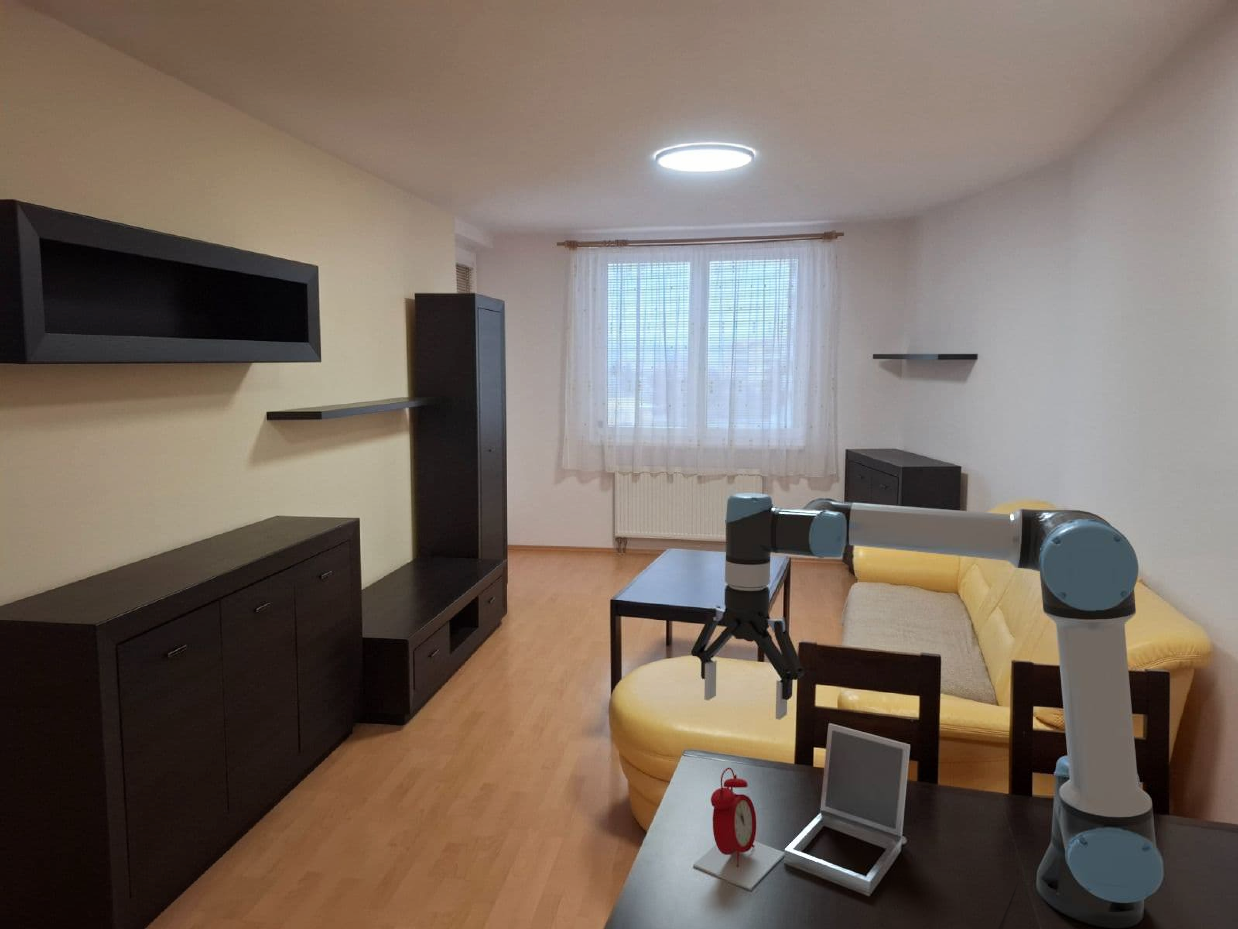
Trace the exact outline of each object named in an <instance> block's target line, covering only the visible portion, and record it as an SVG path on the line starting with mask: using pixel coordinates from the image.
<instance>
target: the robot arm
mask: <svg viewBox="0 0 1238 929" xmlns="http://www.w3.org/2000/svg"><path fill="white" fill-rule="evenodd" d="M726 505H727V506H726V513H725V514H726V517H725V520H724V523H725V563H724V564H725V566H724V582H725V583H726V586H725V587H724V602H723V603H724V607H725V608H724V609H723V608H721V606H719V605H715V606H713V607H711V608H709V609H708V610H707V618H706V621H705V622H704V623H705V624H704V625H703V627H702V629H701V632H700V634H698V637H697V639H696V641H695V643H694V644H693V647H692V650H690V653H691V654H690V655H691V656H692V657H696V658H698V659H699V660H700V678H701V679H703V680H704V701H705V700H706V701H710V700H711V699H713V698H715V697H717V659H713V658H714V657H715V655H716V654H717V653H718V652H719V651H720V650H721V649H722V648H723V646H725V645H726V643H728V641H729V640H730V639H731V638H732V637H734V639H736V640H744V641H746V642H750V643H752V642H754V643H755V644H756V645H757V646H758V647H759V648H760V649H761V650H762V652H763V653H764V655H765V657H766V658H767V660H768V661H769V662H770V664H771V665H772V668H774V670H775V672H776V673H777V675H778V676H779V678H778V679H776V683H775V684H776V686H775V687H776V688H775V689H776V690H775V691H776V692H775V697H776V698H775V719H776V720H778V721H780V720H782V719H783V718H785V717H786V716H787V715H788V700H790V699H791V698H792V696H793V684H794V683H793V682H794V681H797V680H799V679H800V678H801V677H803V676H804V675H805V670H804V668H803V665H802V664H801V661H800V658H799V656H798V653H797V651H796V648H795V646H794V643H793V641H792V639H791V637H790V634H789V631H788V630H789V629H788V621H787V619H786V618H785V617H781V618H780V619H779V618H778V619H777V618H776V619H775V618H771V616H770V614H769V612H770V611H769V610H770V597H771V595H770V591H771V589H770V588H769V585H770V583H771V580H770V579H771V553H772V554H773V553H774V554H785V555H786V554H787V555H794V556H804V557H813V558H814V557H815V558H818V559H824V558H832V559H833V558H837V559H838V558H840V557H842V556H843V554H844V553H845V548H846V546H855V547H856V546H857V547H865V548H867V547H868V548H874V549H876V548H877V549H888V550H896V551H905V552H914V553H915V552H916V553H917V552H918V553H927V554H937V555H945V556H946V555H947V556H957V557H968V558H976V559H977V558H978V559H986V560H997V561H998V560H999V561H1007V562H1009V563H1010V564H1011V565H1012V566H1013V567H1014V568H1016V569H1024V570H1031V571H1036V572H1039V580H1040V589H1041V599H1042V601H1041V602H1042V611H1043V614H1045V615H1046V616H1048V618H1050V619H1051V620H1052V621H1053V622H1054V623H1055V626H1056V627H1055V628H1056V639H1057V650H1058V660H1059V661H1058V662H1059V672H1060V684H1061V695H1062V705H1063V706H1062V707H1063V718H1064V728H1065V729H1064V730H1065V738H1066V750H1067V751H1066V752H1067V755H1064V756H1061V757H1059V758H1058V760H1057V761H1056V763H1055V764H1056V765H1055V766H1056V767H1055V770H1054V772H1053V775H1054V793H1053V808H1052V819H1051V835H1050V836H1051V837H1050V843H1049V846H1048V847H1047V850H1046V852H1045V853H1044V855H1043V858H1042V860H1041V862H1040V864H1039V866H1038V868H1037V871H1036V889H1037V892H1038V893H1039V895H1040V897H1041V898H1043V900H1044V901H1045V902H1046V903H1047V904H1049V905H1050V906H1051V907H1052V908H1054V909H1055V910H1057V911H1058V912H1060V913H1062V914H1063V915H1066V916H1067V917H1070V918H1071V919H1074V920H1077V921H1079V922H1082V923H1085V924H1088V925H1092V926H1096V927H1101V928H1107V929H1108V928H1109V929H1126V928H1130V927H1134V926H1135V925H1138V924H1139V923H1140V922H1141V921H1142V920H1143V918H1144V911H1145V910H1144V908H1145V907H1144V906H1145V899H1147V897H1150V896H1151V895H1153V894H1155V893H1156V892H1157V891H1158V889H1159V888H1160V887H1161V885H1162V882H1163V879H1164V860H1163V857H1162V856H1161V855H1162V854H1161V852H1160V851H1159V849H1158V848H1157V842H1156V835H1155V824H1154V809H1153V801H1152V798H1151V797H1150V794H1148V793H1147V792H1146V791H1144V789H1142V788H1141V784H1140V777H1139V774H1138V769H1137V758H1136V757H1137V756H1136V748H1135V746H1136V745H1135V734H1134V723H1133V711H1132V710H1133V709H1132V699H1131V698H1132V697H1131V688H1130V686H1131V685H1130V676H1129V675H1130V674H1129V662H1128V651H1127V640H1126V639H1127V638H1126V629H1125V628H1126V623H1127V622H1128V621H1129V620H1131V619H1132V618H1133V617H1134V616H1135V615H1136V613H1137V610H1136V596H1135V594H1136V593H1135V587H1136V584H1137V580H1138V577H1139V571H1140V570H1139V562H1138V557H1137V553H1136V551H1135V549H1134V547H1133V545H1132V544H1131V542H1130V541H1129V540H1128V538H1127V536H1125V535H1124V534H1123V533H1122V532H1120V530H1119V529H1117V528H1115V527H1114V526H1112V525H1111V524H1110V522H1109V521H1107V520H1105V519H1104V518H1102V517H1101V516H1099V515H1098V514H1096V513H1093V512H1089V511H1084V510H1080V509H1079V510H1078V509H1029V508H1028V509H1026V508H1018V509H1016V510H1015V511H1014V512H1012V513H1011V514H1010V513H1009V514H1007V513H995V512H985V511H984V512H982V511H981V512H980V511H970V510H969V511H967V510H956V509H955V510H953V509H943V508H942V509H941V508H932V507H931V508H930V507H917V506H905V505H904V506H902V505H901V506H900V505H890V504H888V505H887V504H879V503H877V504H876V503H864V502H863V503H862V502H848V501H837V500H835V499H833V498H831V497H819V498H816V499H812V500H811V501H809V502H808V503H807V504H806V505H805V506H804V507H803V508H783V507H782V508H781V507H778V506H777V507H776V506H774V504H773V499H772V497H771V496H770V495H769V494H766V493H758V492H757V493H755V492H744V493H743V492H739V493H734V494H732V495H730V496H729V497H728V499H727V503H726ZM722 619H723V622H724V623H725V624H726V627H725V628H724V630H722V632H720V635H718V637H717V638H716V639H715V640H714V641H713V642H712V643H711V644H710V645H709V647H707V646H708V644H709V642H710V640H711V638H712V637H713V634H714V632H715V630H716V629H717V626H718V624H719V622H720V621H721V620H722ZM769 627H770V628H771V632H772V633H774V637H775V640H776V643H777V645H778V647H777V645H776V644H775V642H774V641H773V636H772V634H770V632H769V631H768V629H769ZM706 648H707V649H706Z"/></svg>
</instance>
